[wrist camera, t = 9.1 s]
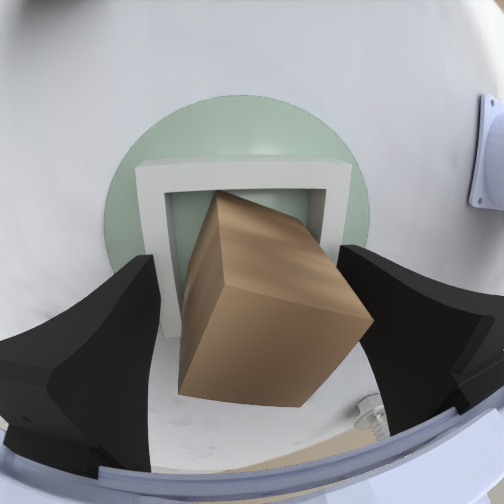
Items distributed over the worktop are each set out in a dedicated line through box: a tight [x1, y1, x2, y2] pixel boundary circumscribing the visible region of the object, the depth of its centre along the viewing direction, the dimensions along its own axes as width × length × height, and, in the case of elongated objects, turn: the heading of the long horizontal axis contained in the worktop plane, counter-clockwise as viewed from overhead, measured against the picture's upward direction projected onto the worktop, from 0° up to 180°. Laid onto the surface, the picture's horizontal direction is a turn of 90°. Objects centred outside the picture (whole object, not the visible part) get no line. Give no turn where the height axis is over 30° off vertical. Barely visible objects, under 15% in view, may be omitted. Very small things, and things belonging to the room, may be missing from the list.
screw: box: [353, 394, 404, 465], centre depth 18 cm, size 13×5×5 cm
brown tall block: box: [178, 190, 374, 407], centre depth 10 cm, size 4×4×7 cm
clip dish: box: [104, 95, 370, 338], centre depth 12 cm, size 13×13×2 cm
